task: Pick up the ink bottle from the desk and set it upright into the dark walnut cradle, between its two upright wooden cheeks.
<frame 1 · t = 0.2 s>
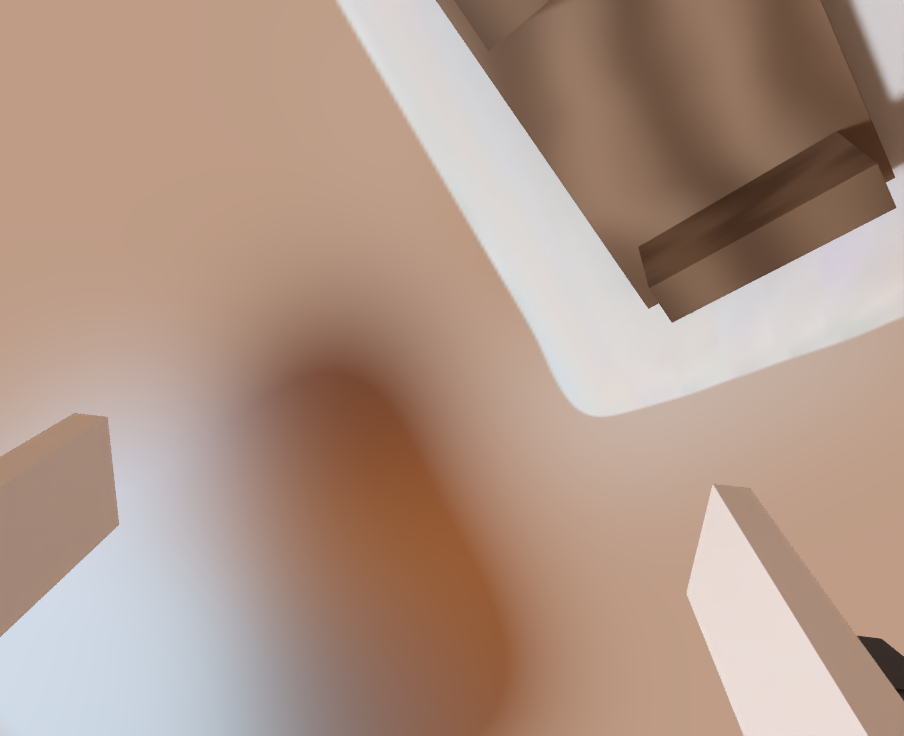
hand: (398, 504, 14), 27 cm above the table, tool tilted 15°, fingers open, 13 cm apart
cradle: (663, 76, 33), on the table
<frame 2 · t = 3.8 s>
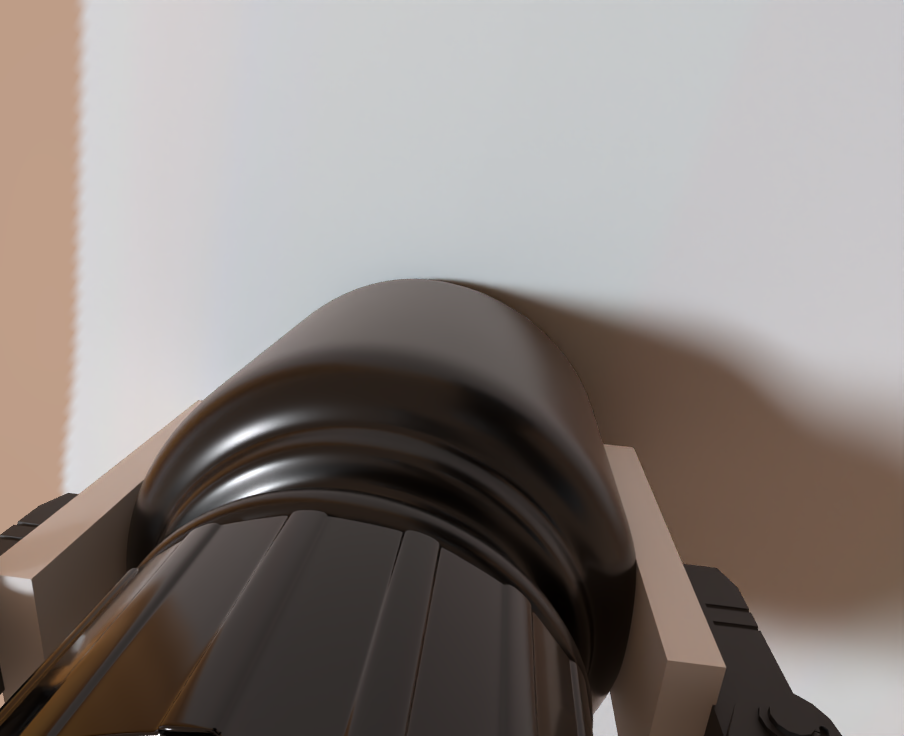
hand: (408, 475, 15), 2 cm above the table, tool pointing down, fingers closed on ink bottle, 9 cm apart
ink bottle: (424, 437, 17), on the table, touching gripper
when the fingers open (5 cm above the table, at t = 10.6 s): ink bottle drops 2 cm, resting on cradle.
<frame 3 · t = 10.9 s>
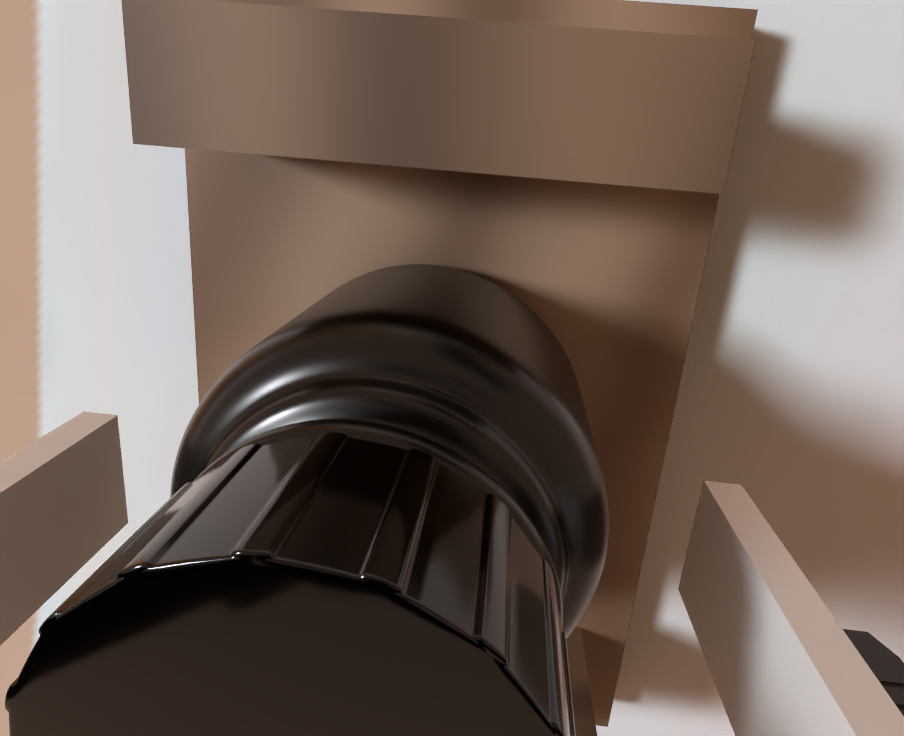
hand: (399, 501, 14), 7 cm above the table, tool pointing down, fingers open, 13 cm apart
ink bottle: (427, 409, 19), point 1 cm above the table, touching cradle
cradle: (433, 394, 20), on the table
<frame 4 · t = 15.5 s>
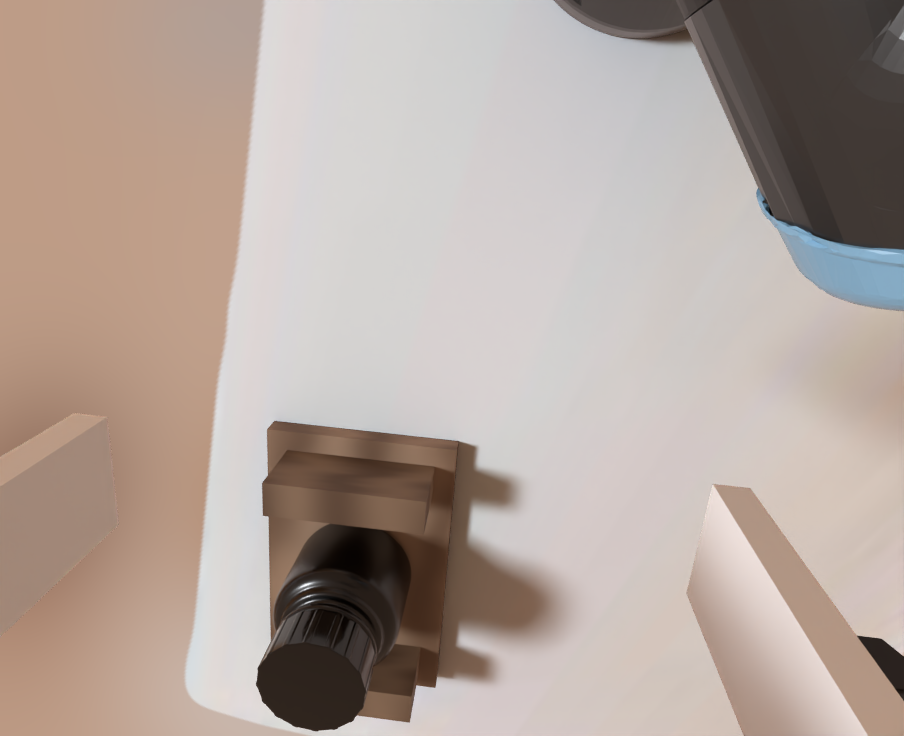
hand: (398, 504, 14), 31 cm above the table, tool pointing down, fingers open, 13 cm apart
ink bottle: (356, 564, 50), point 1 cm above the table, touching cradle
cradle: (360, 555, 51), on the table
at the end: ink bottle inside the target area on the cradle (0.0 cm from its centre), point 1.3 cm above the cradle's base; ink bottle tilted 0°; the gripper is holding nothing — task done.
